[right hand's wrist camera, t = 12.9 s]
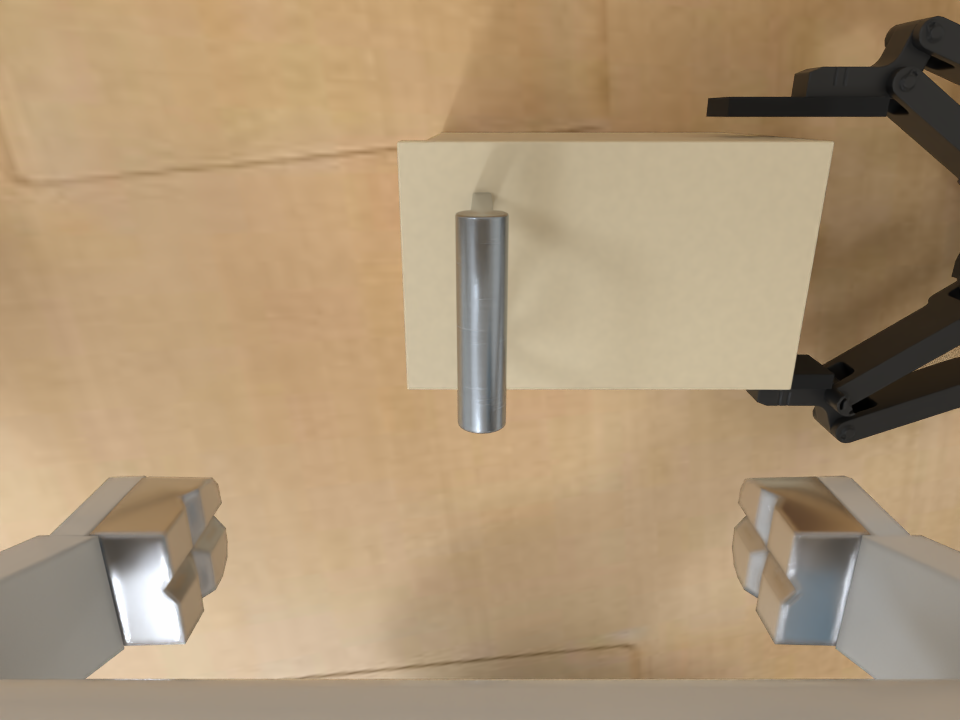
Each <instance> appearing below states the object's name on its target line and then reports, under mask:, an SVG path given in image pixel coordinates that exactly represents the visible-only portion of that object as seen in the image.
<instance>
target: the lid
mask: <svg viewBox="0 0 960 720" xmlns="http://www.w3.org/2000/svg"><path fill="white" fill-rule="evenodd" d="M833 148H834V142H833V141H824V140H402V141H399V142H397V156H398V180H399V204H400V227H401V251H402V275H403V299H404V322H405V346H406V370H407V388H408V389H457V391H458V424H459V426H460V427H461V428H462V429H464V430H466V431H468V432H472V433H491V432H495V431H498V430H500V429H502V428H503V427H504V426H505V423H506V389H582V390H790V389H791V385H792V379H793V373H794V368H795V362H796V356H797V351H798V345H799V340H800V334H801V328H802V323H803V317H804V311H805V306H806V300H807V294H808V289H809V283H810V277H811V272H812V266H813V261H814V255H815V249H816V244H817V238H818V232H819V227H820V221H821V215H822V210H823V204H824V198H825V193H826V187H827V181H828V176H829V170H830V165H831V159H832V153H833Z"/></svg>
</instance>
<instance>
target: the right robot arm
mask: <svg viewBox="0 0 960 720" xmlns="http://www.w3.org/2000/svg"><path fill="white" fill-rule="evenodd" d="M221 503H222V502H221V497H220V492H219V487H218V484H217V483H216V481H215V480H214V479H213V478H200V477H146V476H120V477H111V478H108V479H107V480H106V481H105V482H104V483H103V484H102V485H101V486H100V487H99V488H98V489H97V490H96V491H95V492H94V493H93V494H92V495H91V496H90V497H89V498H88V499H87V500H86V501H85V502H83V503H82V504H81V505H80V506H79V507H78V508H77V509H76V510H75V511H74V512H73V513H72V514H71V515H70V516H69V517H68V518H67V519H66V520H65V521H64V522H63V523H62V524H61V525H60V526H59V527H58V528H57V529H56V530H54V531H53V532H52V533H51V534H50V535H45V536H36V537H34V538H32V539H29V540H27V541H25V542H22V543H20V544H18V545H15V546H13V547H11V548H8V549H6V550H4V551H1V552H0V720H960V552H959V551H956V550H954V549H952V548H949V547H947V546H945V545H942V544H940V543H938V542H935V541H933V540H931V539H928V538H926V537H924V536H915V535H910V534H909V533H908V532H907V531H906V530H905V529H904V528H902V527H901V526H900V525H899V524H898V523H897V522H896V521H895V520H894V519H893V518H892V517H891V516H890V515H889V514H888V513H887V512H886V511H885V510H884V509H883V508H882V507H881V506H880V505H879V504H878V503H877V502H876V501H875V500H874V499H873V498H872V497H870V496H869V495H868V494H867V493H866V492H865V491H864V490H863V489H862V488H861V487H860V486H859V485H858V484H857V483H856V482H855V481H854V480H853V479H852V478H849V477H846V476H825V477H783V478H751V479H745V481H744V483H743V485H742V487H741V490H740V496H739V502H738V503H739V505H740V506H741V508H742V509H743V511H744V513H745V514H746V516H745V517H744V518H743V520H742V521H741V522H740V523H739V524H738V525H737V526H736V527H735V528H734V535H733V544H732V551H733V561H734V567H735V570H736V573H737V576H738V579H739V581H740V583H741V584H742V586H743V588H744V590H746V591H747V592H749V593H750V594H752V595H754V596H755V597H757V598H758V601H757V607H756V612H757V613H758V615H759V617H760V619H761V621H762V622H763V624H764V626H765V628H766V629H767V631H768V633H769V635H770V636H771V638H772V640H773V642H774V644H790V645H827V646H836V649H837V650H838V651H839V652H841V653H842V654H843V655H845V656H846V657H847V658H849V659H850V660H851V661H852V662H854V663H855V664H856V665H858V666H859V667H860V668H862V669H863V670H864V671H865V672H867V673H868V674H869V675H871V676H872V677H873V678H875V679H86V678H87V677H88V676H90V675H91V674H92V673H93V672H95V671H96V670H97V669H99V668H100V667H101V666H103V665H104V664H105V663H106V662H108V661H109V660H110V659H112V658H113V657H114V656H116V655H117V654H118V653H119V652H121V651H122V650H123V649H124V646H133V645H168V644H186V642H187V640H188V638H189V637H190V635H191V633H192V631H193V629H194V628H195V626H196V624H197V622H198V621H199V619H200V617H201V615H202V613H203V612H204V607H203V601H202V598H203V597H205V596H206V595H208V594H210V593H211V592H213V591H214V590H216V588H217V586H218V584H219V583H220V581H221V579H222V577H223V574H224V569H225V565H226V561H227V547H228V541H227V534H226V528H225V527H224V526H223V525H222V524H221V523H220V522H219V521H218V520H217V518H216V517H215V516H214V514H215V513H216V511H217V509H218V508H219V506H220V505H221Z"/></svg>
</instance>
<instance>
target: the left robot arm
mask: <svg viewBox="0 0 960 720" xmlns="http://www.w3.org/2000/svg"><path fill="white" fill-rule="evenodd" d="M885 47H886V48H885V50H884V52H883V54H882V56H881V57H880V59H879V60H878V61H877V62H876V63H875V64H874V65H872V66H871V67H818V68H811V69H806V70H804V71H801V72H799V73H796V74H795V76H794V83H793V89H792V96H791V97H722V98H708V107H707V116H714V117H886V116H887V117H889V118H890V119H891V120H892V121H893V122H894V123H895V124H897V125H898V126H899V127H900V128H901V129H902V130H904V131H905V132H906V133H907V134H908V135H909V136H910V137H912V138H913V139H914V140H915V141H916V142H917V143H918V144H920V145H921V146H922V147H923V148H924V149H925V150H927V151H928V152H929V153H930V154H931V155H932V156H933V157H935V158H936V159H937V160H938V161H939V162H940V163H941V164H943V165H944V166H945V167H946V168H947V169H948V170H949V171H951V172H952V173H953V174H954V175H955V176H956V177H957V178H958V179H959V180H958V183H959V184H960V105H959V104H957V103H956V102H955V101H954V100H953V99H952V98H951V97H950V96H949V95H947V94H946V93H945V92H944V91H943V90H942V89H941V88H940V87H939V86H938V85H936V84H935V83H934V82H933V81H932V80H931V79H930V78H929V77H928V76H926V75H925V74H924V73H923V72H922V71H923V70H924V69H925V70H927V71H929V72H932V73H934V74H936V75H938V76H940V77H942V78H945V79H947V80H949V81H951V82H953V83H955V84H958V85H960V25H959V24H957V23H955V22H953V21H951V20H949V19H946V18H944V17H940V16H936V17H931V18H926V19H921V20H917V21H912V22H907V23H903V24H899V25H895V26H894V27H893V28H891V29H890V30H889V32H888V33H887V35H886V38H885ZM952 277H955V278H957V281H956V282H955V283H953V284H951V285H949V286H948V287H946V288H944V289H943V290H941V291H939V292H937V293H936V294H934V295H932V296H931V297H930V298H929V299H928V304H927V305H926V306H924V307H923V308H921V309H919V310H917V311H916V312H914V313H912V314H910V315H909V316H907V317H905V318H903V319H902V320H900V321H898V322H897V323H895V324H893V325H891V326H890V327H888V328H886V329H884V330H883V331H881V332H879V333H877V334H876V335H874V336H872V337H871V338H869V339H867V340H865V341H864V342H862V343H860V344H858V345H857V346H855V347H853V348H852V349H850V350H848V351H846V352H845V353H843V354H841V355H839V356H838V357H836V358H834V359H832V360H831V361H829V362H827V363H826V364H824V365H821V364H820V363H819V362H817V361H816V360H814V359H813V358H812V357H810V356H809V355H797V356H796V362H795V368H794V373H793V379H792V385H791V389H790V390H746V391H747V392H748V393H749V394H750V395H751V396H752V397H753V398H754V399H755V400H756V401H757V402H759V403H761V404H764V405H767V406H778V405H780V406H786V405H788V406H815V407H814V410H813V416H814V418H815V419H816V420H817V421H818V422H819V423H820V424H821V425H822V426H823V427H824V428H825V429H826V430H828V431H829V432H830V433H831V434H832V435H833V436H834V437H835V438H836V439H837V440H839V441H840V442H843V443H849V442H853V441H856V440H859V439H862V438H866V437H869V436H872V435H875V434H878V433H881V432H884V431H887V430H891V429H894V428H897V427H900V426H903V425H906V424H909V423H912V422H916V421H919V420H922V419H925V418H928V417H931V416H934V415H937V414H941V413H944V412H947V411H950V410H953V409H956V408H959V407H960V357H957V358H954V359H950V360H947V361H944V362H941V363H938V364H934V365H931V366H928V367H925V368H922V369H919V370H916V369H918V368H920V367H921V366H923V365H925V364H927V363H929V362H930V361H932V360H934V359H936V358H937V357H939V356H941V355H943V354H945V353H946V352H948V351H950V350H952V349H954V348H955V347H957V346H959V345H960V253H959V255H958V257H957V259H956V261H955V265H954V269H953V273H952ZM914 370H916V371H914ZM912 371H913V372H912Z"/></svg>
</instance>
